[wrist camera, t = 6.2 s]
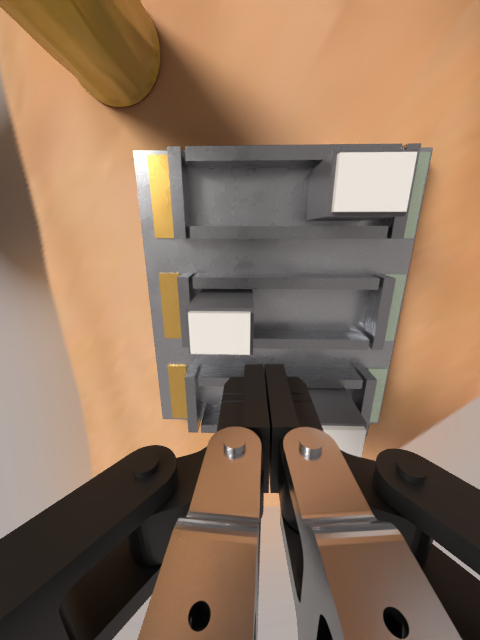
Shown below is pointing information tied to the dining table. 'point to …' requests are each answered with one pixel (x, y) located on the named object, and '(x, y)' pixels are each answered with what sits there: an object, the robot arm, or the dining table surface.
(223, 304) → the block
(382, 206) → the breaker near
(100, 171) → the dining table surface
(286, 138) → the dining table surface
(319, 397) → the breaker far
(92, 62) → the vase
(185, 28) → the dining table surface
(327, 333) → the panel
